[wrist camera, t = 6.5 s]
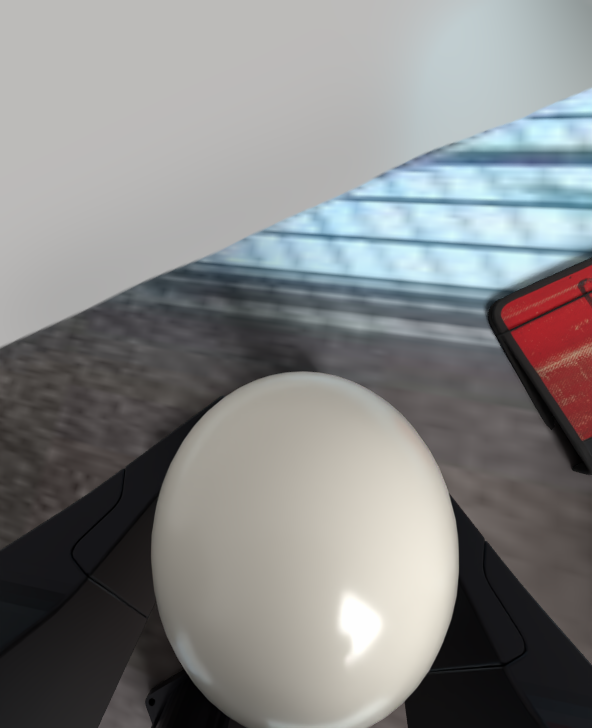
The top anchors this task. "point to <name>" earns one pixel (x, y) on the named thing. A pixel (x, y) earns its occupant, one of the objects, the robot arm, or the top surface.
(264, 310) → the top surface
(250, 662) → the cream rounded cylinder
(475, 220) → the top surface
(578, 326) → the binder
